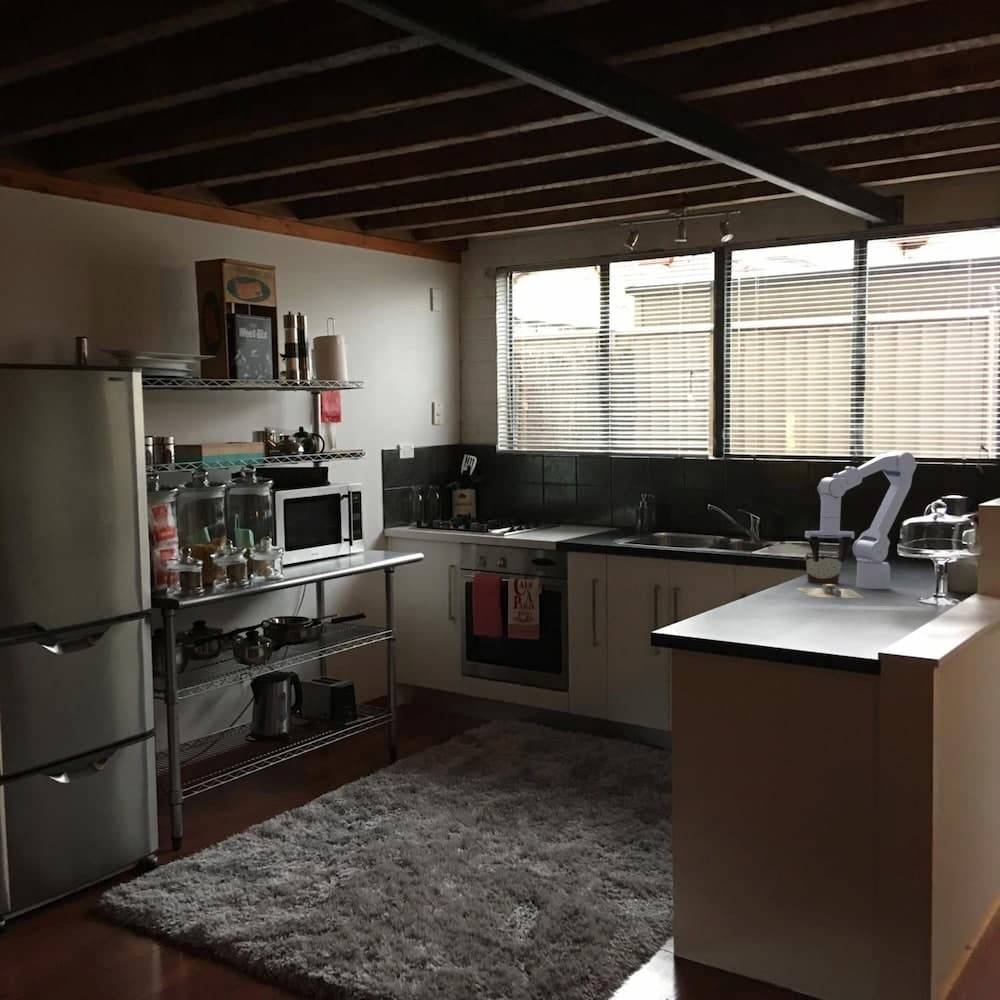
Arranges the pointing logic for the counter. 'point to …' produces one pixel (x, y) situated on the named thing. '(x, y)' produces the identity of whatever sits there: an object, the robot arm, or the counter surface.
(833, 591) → the t key
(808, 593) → the plate
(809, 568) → the food container
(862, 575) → the robot arm
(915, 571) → the counter surface
